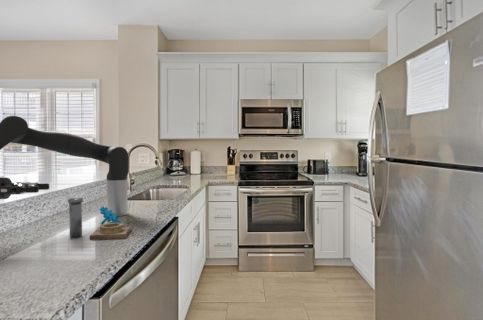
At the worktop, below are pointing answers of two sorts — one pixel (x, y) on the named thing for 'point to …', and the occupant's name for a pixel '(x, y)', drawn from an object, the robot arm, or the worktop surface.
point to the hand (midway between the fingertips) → (43, 187)
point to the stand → (110, 231)
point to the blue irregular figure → (108, 215)
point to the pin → (75, 217)
